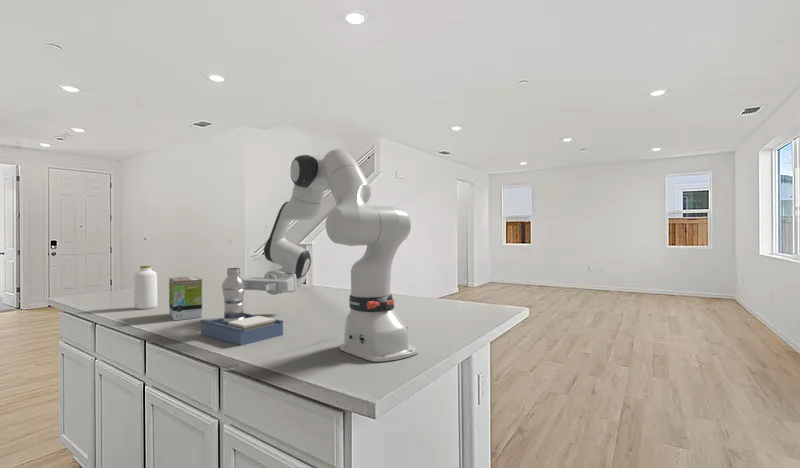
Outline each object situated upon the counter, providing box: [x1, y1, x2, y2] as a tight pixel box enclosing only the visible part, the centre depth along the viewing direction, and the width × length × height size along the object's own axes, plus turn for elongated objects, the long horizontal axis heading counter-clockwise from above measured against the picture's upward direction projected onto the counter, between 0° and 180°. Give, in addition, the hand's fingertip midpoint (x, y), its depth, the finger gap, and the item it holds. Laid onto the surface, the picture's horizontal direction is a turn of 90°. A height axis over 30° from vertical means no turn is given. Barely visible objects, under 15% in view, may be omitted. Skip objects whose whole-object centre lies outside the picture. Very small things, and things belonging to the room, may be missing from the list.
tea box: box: [168, 276, 203, 321], centre depth 160 cm, size 15×10×15 cm, turn 34°
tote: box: [200, 312, 284, 347], centre depth 127 cm, size 22×14×5 cm, turn 52°
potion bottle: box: [133, 265, 158, 310], centre depth 178 cm, size 8×8×18 cm
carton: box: [228, 315, 276, 331], centre depth 124 cm, size 8×10×5 cm
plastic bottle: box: [221, 267, 245, 326], centre depth 130 cm, size 6×7×20 cm
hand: (252, 287), depth 139 cm, fingers open, 8 cm apart
